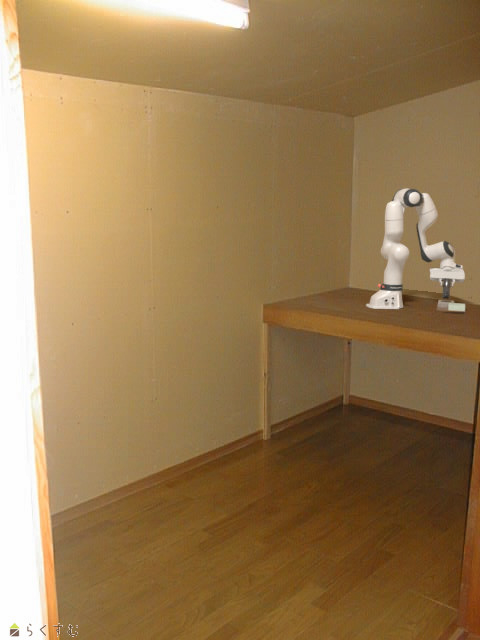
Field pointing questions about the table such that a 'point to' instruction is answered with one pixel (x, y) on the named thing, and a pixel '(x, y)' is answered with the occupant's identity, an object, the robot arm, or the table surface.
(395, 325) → the table surface
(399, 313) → the table surface
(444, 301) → the socket
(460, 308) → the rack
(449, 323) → the table surface
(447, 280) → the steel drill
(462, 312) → the tool board
